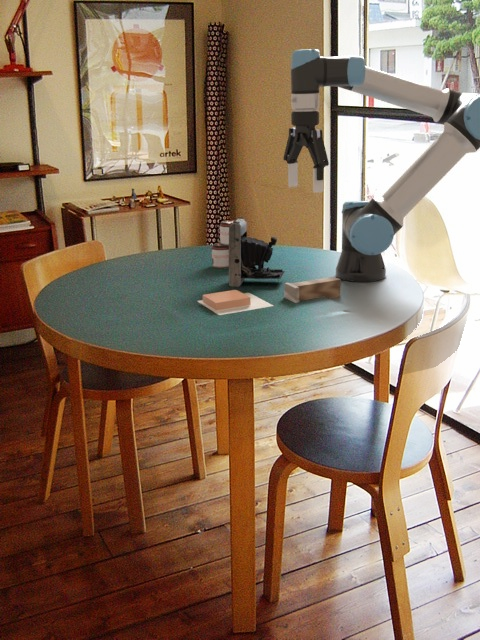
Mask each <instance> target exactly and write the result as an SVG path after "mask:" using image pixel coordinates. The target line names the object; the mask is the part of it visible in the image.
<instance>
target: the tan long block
mask: <svg viewBox="0 0 480 640" xmlns="http://www.w3.org/2000/svg"><path fill="white" fill-rule="evenodd" d="M341 280H342V279H339V278H337V277H336V276H329V277H324V278H317V279H310V280H305V281H297V282H292V283H290V282H284V283H283V284H284V285H283V286H284V287H283V288H284V290H283V293H284V294H283V295H284V296H283V298H284V299H286V300H289V301H291V302H292V303H295V304H298V303H300V301H301V302H302V301H305V300H312V299H319V298H326V299H329V298H330V299H335V298H340V297H341V288H342V287H341V284H342V281H341ZM334 297H335V298H334Z"/></svg>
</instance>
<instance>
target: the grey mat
mask: <svg viewBox="0 0 480 640" xmlns="http://www.w3.org/2000/svg"><path fill="white" fill-rule="evenodd" d="M243 294H245V295H247V296H249V297H250V301H251V305H250V306H248V307H242V308H236V309H230V310H224V311H217V312H216V311H215V310H213V309H212V308H210V307H208V306H207V305H205V304H204V303H203V299H201V300H200V299H199V300H197V301H196V302H198V303H199V304H200V305H202V306H203V307H206V308H207V309H209V310H210V311H212V312H213V313H215V314H216V315H218V316H223V315H229V314H234V313H235V314H236V313H241V312H248V311H252V310H258V309H266V308H270V307H274V305H273V304H271V303H269V302H268V301H266V300H264V299H262V298H260V297H258V296H256V295H254V294H252V293H250V292H243Z"/></svg>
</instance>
